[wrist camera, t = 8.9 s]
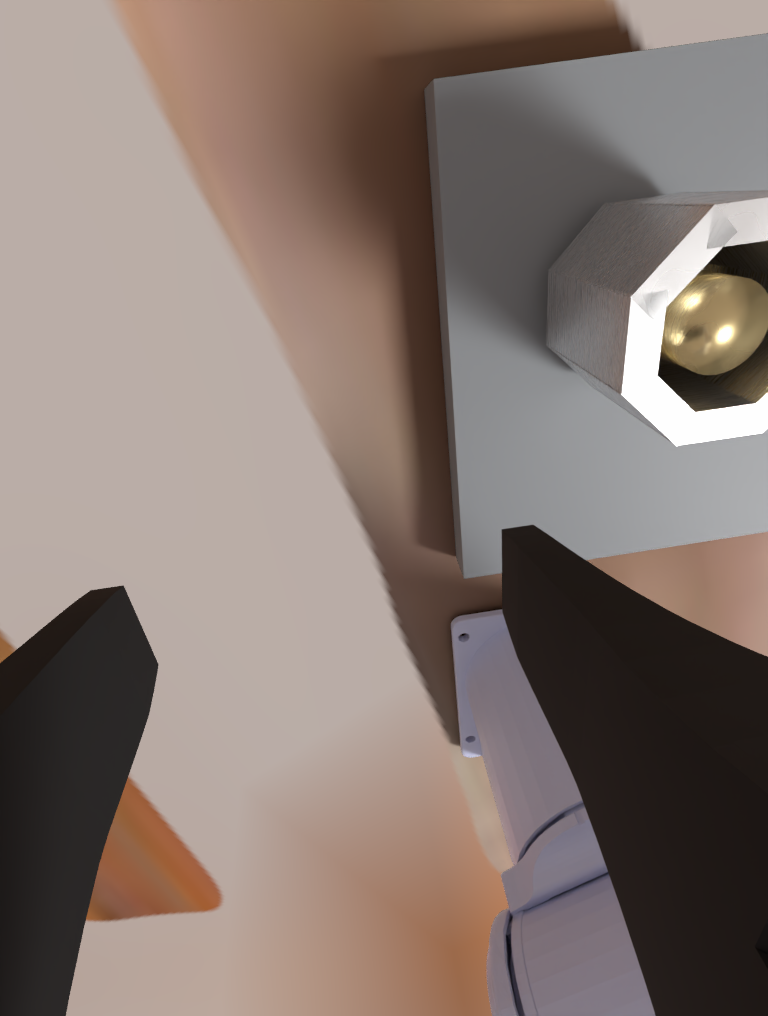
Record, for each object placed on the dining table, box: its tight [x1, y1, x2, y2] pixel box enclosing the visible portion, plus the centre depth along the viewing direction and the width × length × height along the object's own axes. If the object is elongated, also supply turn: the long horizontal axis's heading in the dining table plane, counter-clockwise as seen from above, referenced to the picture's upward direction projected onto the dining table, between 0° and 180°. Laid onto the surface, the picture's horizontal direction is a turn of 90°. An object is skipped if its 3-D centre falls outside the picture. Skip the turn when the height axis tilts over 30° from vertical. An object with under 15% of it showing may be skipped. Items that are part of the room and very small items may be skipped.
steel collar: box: [546, 190, 768, 446], centre depth 14 cm, size 5×5×5 cm
